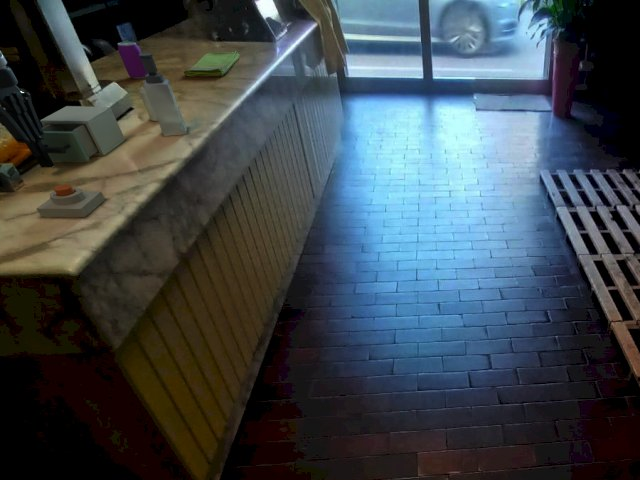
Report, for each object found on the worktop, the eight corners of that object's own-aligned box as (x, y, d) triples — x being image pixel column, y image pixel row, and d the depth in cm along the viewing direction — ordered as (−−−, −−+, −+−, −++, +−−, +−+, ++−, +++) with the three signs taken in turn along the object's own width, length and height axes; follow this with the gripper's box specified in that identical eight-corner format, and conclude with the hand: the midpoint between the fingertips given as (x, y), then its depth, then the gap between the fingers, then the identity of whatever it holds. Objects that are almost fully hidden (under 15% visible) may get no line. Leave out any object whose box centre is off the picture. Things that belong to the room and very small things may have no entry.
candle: (146, 120, 176) (132, 87, 169) (157, 115, 180) (144, 83, 173) (161, 121, 175) (148, 89, 168) (171, 117, 179) (159, 85, 172)
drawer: (79, 167, 143) (63, 138, 138) (36, 167, 142) (18, 137, 137) (109, 146, 155) (95, 118, 150) (69, 145, 155) (54, 117, 149)
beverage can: (145, 73, 217) (131, 40, 209) (154, 77, 214) (141, 43, 206) (126, 77, 212) (111, 43, 204) (135, 80, 209) (121, 46, 201)
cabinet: (104, 155, 152) (86, 121, 146) (59, 155, 151) (39, 120, 145) (125, 139, 162) (110, 106, 155) (83, 139, 161) (66, 106, 154)
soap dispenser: (186, 125, 173) (158, 49, 158) (186, 134, 168) (156, 56, 152) (165, 127, 171) (134, 50, 156) (163, 136, 166) (131, 57, 150)
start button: (70, 197, 124) (66, 190, 123) (54, 197, 124) (50, 190, 123) (78, 191, 127) (74, 184, 126) (62, 191, 126) (58, 184, 125)
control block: (85, 217, 125) (76, 201, 122) (41, 217, 124) (31, 201, 121) (105, 199, 132) (97, 184, 129) (64, 199, 131) (55, 184, 128)
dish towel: (184, 77, 215) (181, 68, 213) (206, 57, 241) (203, 49, 238) (223, 77, 218) (220, 68, 215) (241, 57, 243) (238, 49, 241)
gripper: (-12, 74, 119) (48, 176, 135) (23, 61, 128) (75, 157, 144) (-47, 73, 118) (18, 175, 134) (-9, 60, 127) (47, 157, 144)
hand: (47, 166), depth 139 cm, fingers closed
